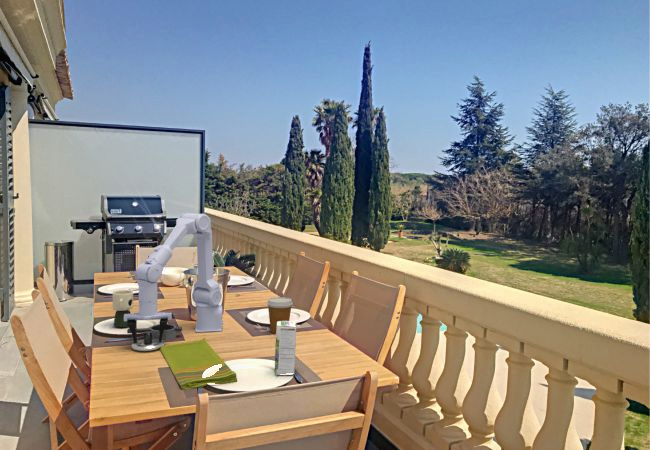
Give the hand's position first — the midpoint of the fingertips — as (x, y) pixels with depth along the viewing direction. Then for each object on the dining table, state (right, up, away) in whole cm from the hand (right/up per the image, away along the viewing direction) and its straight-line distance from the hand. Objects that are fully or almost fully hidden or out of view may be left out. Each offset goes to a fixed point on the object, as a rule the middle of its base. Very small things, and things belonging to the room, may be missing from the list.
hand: (147, 341), depth 167 cm
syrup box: (+46, -5, -18) cm, 49 cm away
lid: (0, -2, 0) cm, 2 cm away
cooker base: (-1, -1, +11) cm, 11 cm away
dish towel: (+19, -5, -14) cm, 24 cm away
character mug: (-17, 0, +23) cm, 29 cm away
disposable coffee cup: (+41, -2, +23) cm, 47 cm away
